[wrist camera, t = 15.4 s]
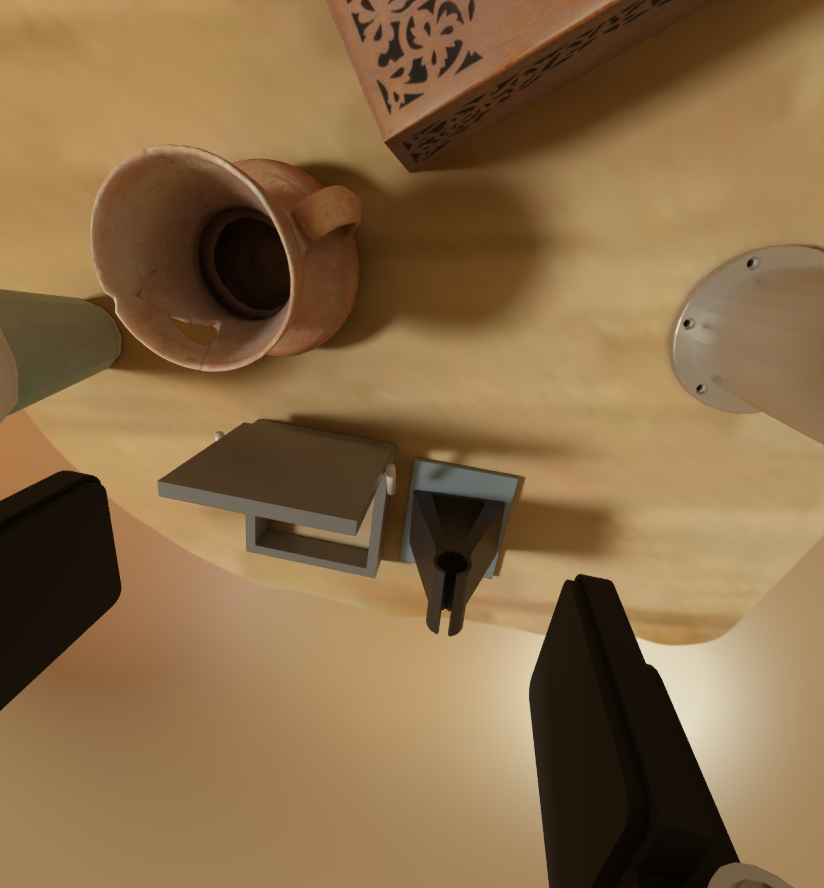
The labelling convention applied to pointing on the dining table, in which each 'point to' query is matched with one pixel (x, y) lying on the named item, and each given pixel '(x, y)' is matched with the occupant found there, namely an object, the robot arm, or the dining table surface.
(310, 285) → the ceramic jug
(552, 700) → the robot arm
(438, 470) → the slate mat
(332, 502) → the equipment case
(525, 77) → the tissue box cover
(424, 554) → the phone stand
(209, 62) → the dining table surface
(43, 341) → the disposable coffee cup
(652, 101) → the dining table surface
